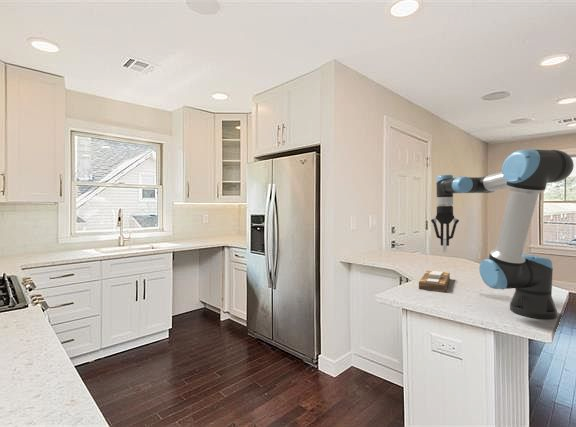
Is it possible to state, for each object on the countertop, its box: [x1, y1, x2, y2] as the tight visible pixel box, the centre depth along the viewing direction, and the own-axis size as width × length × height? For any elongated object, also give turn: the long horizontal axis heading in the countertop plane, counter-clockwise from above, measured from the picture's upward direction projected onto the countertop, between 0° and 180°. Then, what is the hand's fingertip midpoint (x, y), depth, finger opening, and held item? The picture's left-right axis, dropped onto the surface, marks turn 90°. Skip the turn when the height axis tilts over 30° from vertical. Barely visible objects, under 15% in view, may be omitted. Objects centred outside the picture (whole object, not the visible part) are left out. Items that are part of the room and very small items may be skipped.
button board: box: [418, 270, 451, 293], centre depth 174 cm, size 30×12×4 cm, turn 149°
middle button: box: [429, 272, 441, 279], centre depth 174 cm, size 5×5×3 cm
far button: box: [431, 270, 444, 275], centre depth 183 cm, size 5×5×3 cm
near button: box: [427, 278, 439, 283], centre depth 166 cm, size 5×5×3 cm
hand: (444, 252), depth 164 cm, fingers closed
